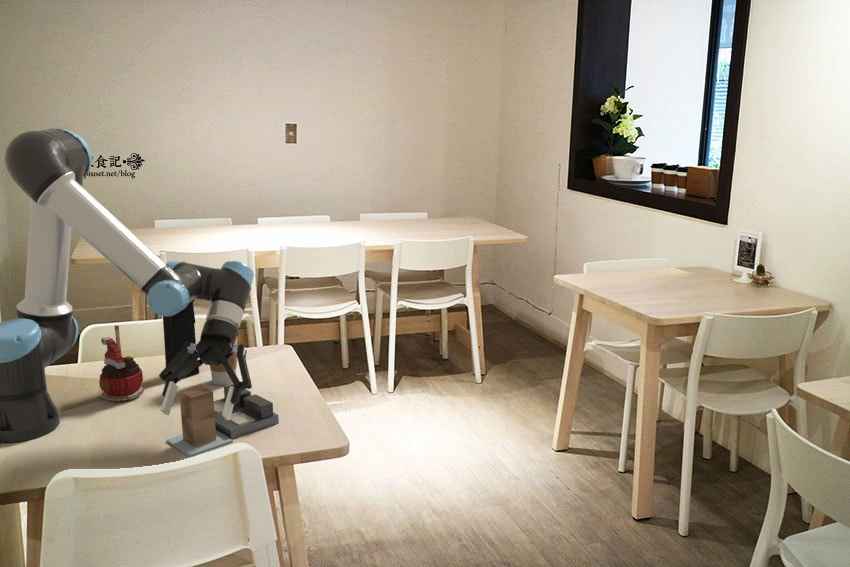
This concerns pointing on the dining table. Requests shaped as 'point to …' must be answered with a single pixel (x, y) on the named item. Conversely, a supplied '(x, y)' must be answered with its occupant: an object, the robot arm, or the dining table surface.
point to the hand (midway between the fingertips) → (194, 415)
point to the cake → (119, 372)
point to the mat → (192, 451)
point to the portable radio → (179, 334)
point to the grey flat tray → (244, 414)
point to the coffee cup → (220, 373)
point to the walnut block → (197, 415)
